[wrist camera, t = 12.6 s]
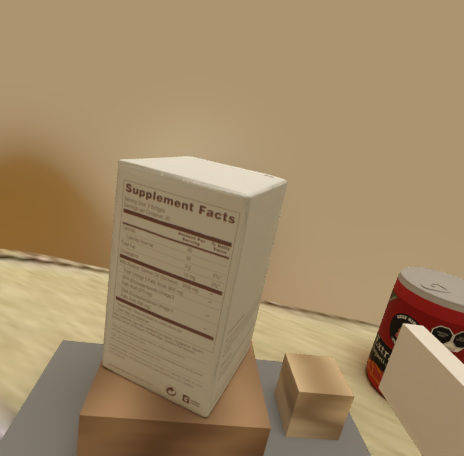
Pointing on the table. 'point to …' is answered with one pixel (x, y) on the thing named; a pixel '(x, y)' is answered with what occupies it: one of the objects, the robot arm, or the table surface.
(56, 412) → the slate mat
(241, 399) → the walnut block
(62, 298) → the table surface
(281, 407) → the maple cube
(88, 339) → the table surface
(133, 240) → the supplement box
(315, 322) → the table surface
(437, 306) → the canned food
